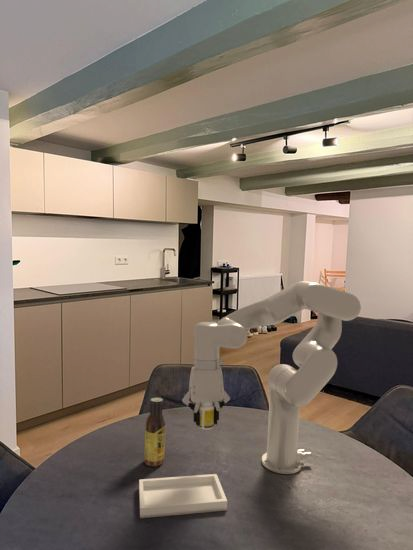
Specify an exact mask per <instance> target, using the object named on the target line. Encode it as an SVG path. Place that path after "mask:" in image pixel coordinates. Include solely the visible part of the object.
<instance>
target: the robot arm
mask: <svg viewBox="0 0 413 550" xmlns="http://www.w3.org/2000/svg"><path fill="white" fill-rule="evenodd" d="M361 306H362V305H361V301H360V300H359V298H358V297H357V296H356V295H355V294H354V293H351V292H346V291H343V290H340V289H337V288H333V287H331V286H327V285H325V284H321V283H318V282H315V281H314V282H313V281H306V280H305V281H304V280H302V281H301V280H300V281H297V282H294V283H292V284H291V285H289V286H287V287H285V288H284V289H282V290H279V291H277V292H276V293H274V294H272V295H270V296H269V297H266V298H265V299H263V300H261V301H257V302H254V303H252V304H248V305H247V306H243V307H241V308H239V309H237V310H235V311H233V312H231V313H229V314H227V315H226V316H224V317H222V318H221V319H220V320H218V321H217V322H213V321H212V322H211V321H200V322H198V323H196V324H195V326H194V352H193V353H194V360H193V361H194V365H193V366H192V367H191V370H190V374H189V385H188V391H187V392H186V394H185V395H184V397H182V398H181V400H182V403H183V404H185V405H186V406H187V407H188V408H189V409H191V411H192V412H193V423H195V425H196V426H197V427H199V411H198V408H199V405H200V403H204V402H213V406H214V426H215V425H218V421H219V420H220V411H221V409H222V408H223V407H224V406H225V404H227V403H228V402H230V400H231V397H230V396H229V394H228V393H227V391H226V390H224V389H225V388H224V376H223V371H222V367H221V365H223V364H225V359H223V358H220V348H226V349H239V348H241V347H243V346H244V345H245V344H246V342H247V341H248V330H251V329H253V328H258V327H262V326H263V327H265V326H268V327H269V326H273V325H274V326H275V325H278V324H280V323H281V322H284V321H286V320H287V319H289V318H291V317H292V316H294V315H296V314H298V313H299V312H301V311H303V310H308V311H311V312H314V313H317V320H316V322H315V325H314V326H313V327H312V329H311V330H310V331H309V332H308V333H307V335H306V336H304V338H302V340H301V341H300V342H299V344H298V345H296V347H295V348H294V350H293V351H292V360H293V362H294V364H295V365H296V366H298V369H297V368H294V367H293V366H291V365H290V364H284V363H282V364H281V363H279V364H277V365H275V366H273V367H272V368H271V369H270V371H269V374H268V376H267V391H268V422H267V423H268V424H267V440H266V441H267V443H266V452H265V453H263V454H262V456H261V464H262V466H264V467H265V469H267V470H269V471H271V472H273V473H276V474H281V475H293V474H296V473H299V472H300V471H301V470H302V467H303V463H302V461H303V460H304V459H312V458H313V455H312V452H311V451H306V452H305V449H304V448H303V449H301V448H300V449H298V448H299V446H298V445H299V430H300V429H299V426H300V425H299V424H300V407H304V406H306V405H308V404H309V403H310V402H312V401H313V399H315V397H316V396H317V395H318V394H319V393H320V392H321V390H323V388H324V387H325V386H326V385H327V384H328V383H329V381H330V380H331V379H332V378H333V376H334V375H335V373H336V371H337V368H338V358H337V354H336V353H335V352H334V351H333V348H334V347H335V346H336V344H337V343H338V342H339V340H340V338H341V336H342V332H343V331H342V328H343V325H342V324H343V323H342V321H344V322H346V321H353V320H354V319H356V318H357V317H358V316H359V314H360V313H361V311H362V309H361V308H362V307H361ZM190 400H191V401H190Z"/></svg>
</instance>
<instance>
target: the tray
mask: <svg viewBox="0 0 413 550" xmlns="http://www.w3.org/2000/svg"><path fill="white" fill-rule="evenodd" d="M138 482H139V483H138V496H139V499H138V500H139V519H146V518H148V519H149V518H158V517H169V516H171V517H172V516H181V515H191V514H193V515H194V514H201V513H213V512H222V511H223V512H224V511H225V512H226V511H228V499H227V497H226V494H225V491H224V489H223V487H222V484H221V482H220V479H219V477H218V474H217V473H213V474H211V473H209V474H196V475H185V476H184V475H182V476H172V477H171V476H170V477H169V476H168V477H156V478H153V477H152V478H144V479H143V478H142V479H139V481H138Z"/></svg>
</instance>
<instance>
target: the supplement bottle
mask: <svg viewBox="0 0 413 550" xmlns="http://www.w3.org/2000/svg"><path fill="white" fill-rule="evenodd" d="M214 407H215V406H214V402H204V403H200V405H199V408H198V411H199V426H198V428H199V429H201V430H205V431H206V430H207V431H208V430H212V429H213V428H214V427H215V424H214Z"/></svg>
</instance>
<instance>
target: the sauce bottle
mask: <svg viewBox="0 0 413 550" xmlns="http://www.w3.org/2000/svg"><path fill="white" fill-rule="evenodd" d="M163 404H164V399H163V398H161V397H152V398H150V401H149V406H150V409H149V415H148V416H147V418H146V422H145V431H144V451H143V452H144V454H143V458H144V464H145V465H146V466H148V467H152V468H153V467H158V466H159V467H160V466H161V465H163V463H164V459H165V451H166V449H165V443H166V426H167V424H166V421H165V418H164V414H163Z"/></svg>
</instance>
